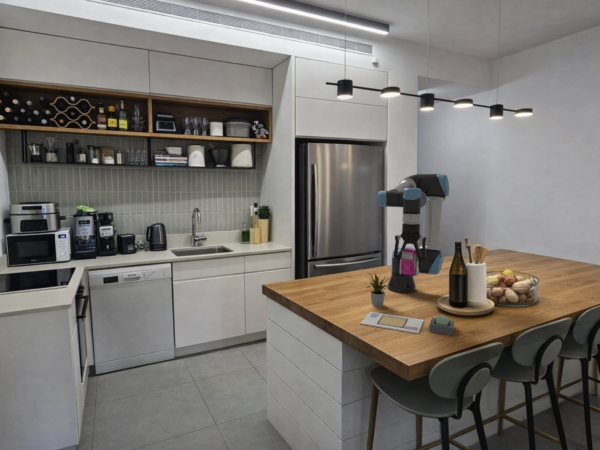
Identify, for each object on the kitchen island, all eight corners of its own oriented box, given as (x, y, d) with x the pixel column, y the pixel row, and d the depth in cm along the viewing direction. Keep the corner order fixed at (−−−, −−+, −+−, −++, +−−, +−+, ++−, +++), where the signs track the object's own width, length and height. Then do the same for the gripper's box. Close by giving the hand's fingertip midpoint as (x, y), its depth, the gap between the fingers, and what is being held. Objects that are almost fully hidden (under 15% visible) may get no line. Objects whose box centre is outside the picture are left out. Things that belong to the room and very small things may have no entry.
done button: (436, 324, 168) (436, 315, 167) (448, 326, 166) (449, 316, 165) (434, 328, 163) (435, 318, 163) (447, 330, 161) (448, 320, 161)
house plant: (354, 303, 197) (355, 271, 195) (372, 298, 206) (373, 267, 204) (377, 311, 187) (378, 277, 185) (395, 305, 195) (396, 272, 193)
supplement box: (405, 272, 184) (406, 247, 183) (417, 274, 181) (419, 249, 179) (400, 274, 180) (401, 249, 178) (412, 276, 176) (414, 251, 175)
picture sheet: (369, 312, 184) (370, 311, 184) (424, 320, 174) (424, 319, 174) (360, 324, 170) (360, 322, 170) (418, 333, 160) (418, 332, 160)
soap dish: (431, 324, 171) (432, 317, 170) (454, 327, 167) (454, 320, 167) (429, 331, 163) (429, 324, 162) (452, 335, 159) (453, 328, 159)
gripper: (387, 222, 178) (385, 273, 181) (433, 225, 170) (430, 278, 173) (390, 220, 184) (389, 269, 187) (435, 223, 176) (432, 274, 179)
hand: (409, 273), depth 180 cm, fingers closed on supplement box, 6 cm apart
